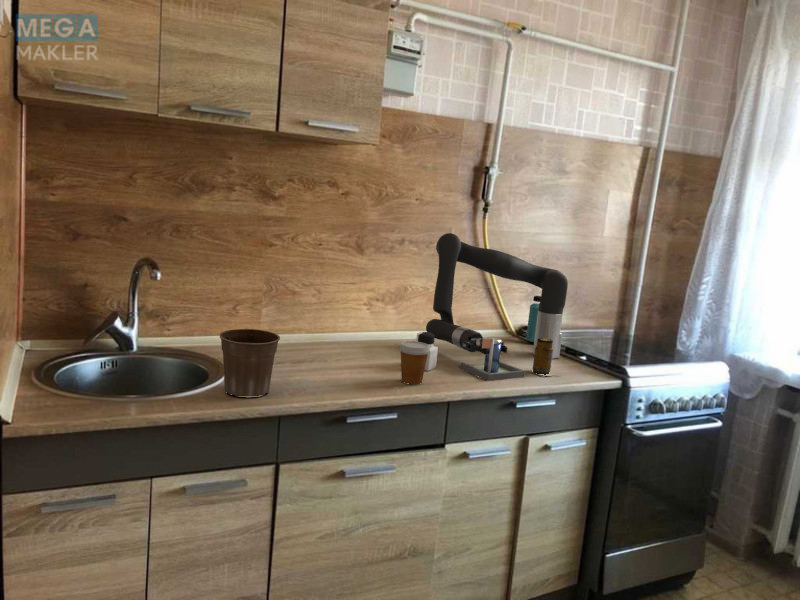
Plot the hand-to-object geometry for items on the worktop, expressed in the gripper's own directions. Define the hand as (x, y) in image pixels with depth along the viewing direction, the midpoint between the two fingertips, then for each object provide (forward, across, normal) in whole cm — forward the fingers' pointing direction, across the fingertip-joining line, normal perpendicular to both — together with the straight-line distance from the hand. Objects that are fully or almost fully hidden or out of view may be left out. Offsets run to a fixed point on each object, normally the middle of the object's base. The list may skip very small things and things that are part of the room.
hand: (497, 350), depth 227 cm
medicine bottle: (-14, -20, +8) cm, 26 cm away
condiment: (+5, +18, +8) cm, 20 cm away
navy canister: (-2, 0, +8) cm, 8 cm away
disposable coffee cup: (0, -34, +8) cm, 35 cm away
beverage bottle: (-31, +48, +8) cm, 58 cm away
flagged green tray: (-1, -2, +8) cm, 8 cm away
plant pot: (-6, -85, +8) cm, 85 cm away
